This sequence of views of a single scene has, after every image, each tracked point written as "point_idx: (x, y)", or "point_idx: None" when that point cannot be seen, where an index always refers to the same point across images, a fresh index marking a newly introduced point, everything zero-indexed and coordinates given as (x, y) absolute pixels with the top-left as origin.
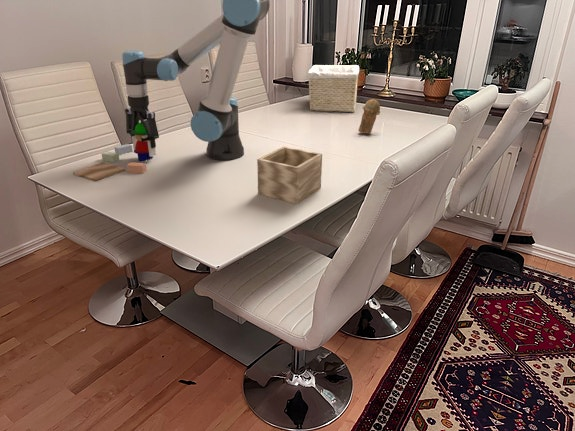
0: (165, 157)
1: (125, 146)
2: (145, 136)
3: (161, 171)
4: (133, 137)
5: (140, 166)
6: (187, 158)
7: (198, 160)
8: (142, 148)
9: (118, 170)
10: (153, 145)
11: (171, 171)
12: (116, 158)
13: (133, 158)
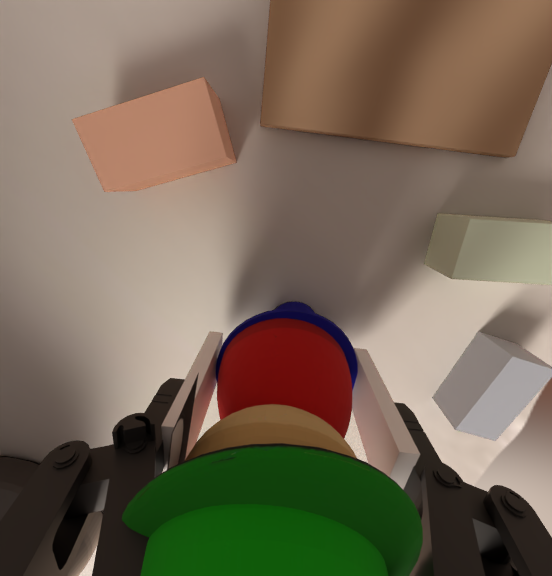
0: (213, 398)
1: (484, 403)
2: (174, 461)
3: (50, 221)
4: (395, 445)
5: (86, 115)
6: (111, 425)
7: (47, 423)
8: (248, 349)
9: (280, 57)
10: (155, 400)
11: (5, 248)
12: (441, 245)
13: (362, 324)
